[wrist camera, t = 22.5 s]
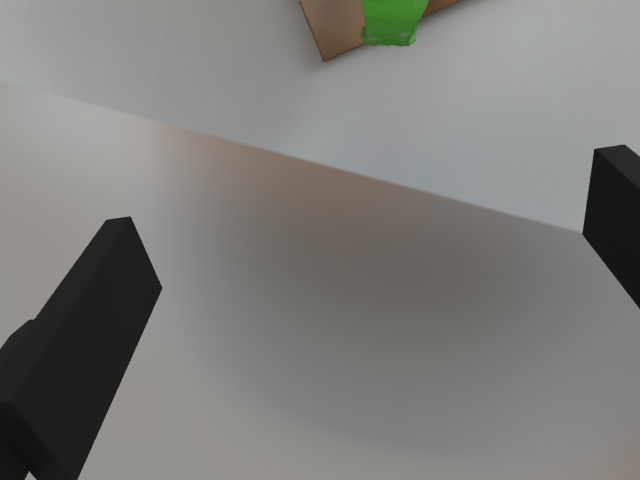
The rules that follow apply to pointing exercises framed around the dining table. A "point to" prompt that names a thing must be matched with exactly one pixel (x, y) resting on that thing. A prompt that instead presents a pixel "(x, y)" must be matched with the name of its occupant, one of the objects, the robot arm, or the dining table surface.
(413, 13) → the snack cup
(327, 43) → the wooden board
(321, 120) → the dining table surface
